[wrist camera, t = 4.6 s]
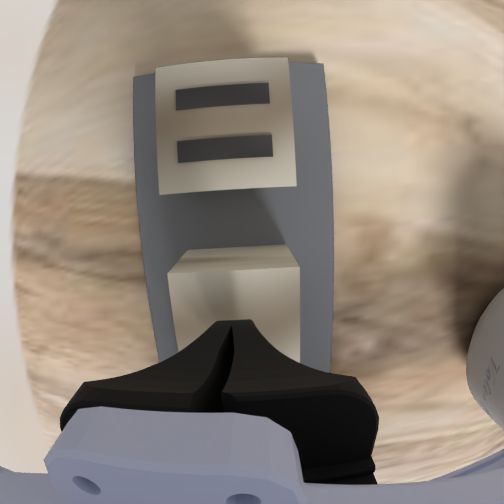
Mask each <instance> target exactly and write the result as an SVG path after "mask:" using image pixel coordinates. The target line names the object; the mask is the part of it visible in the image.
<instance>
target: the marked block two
mask: <svg viewBox="0 0 504 504" xmlns="http://www.w3.org/2000/svg"><path fill="white" fill-rule="evenodd" d="M155 103H156V142H157V164H158V182H159V195H165V194H176V193H188V192H201V191H214V190H230V189H246V188H266V187H290V186H297V182H296V162H295V144H294V128H293V114H292V100H291V87H290V75H289V63H288V57H269V58H242V59H226V60H214V61H203V62H194V63H186V64H178V65H171V66H164V67H158V68H155Z"/></svg>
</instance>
